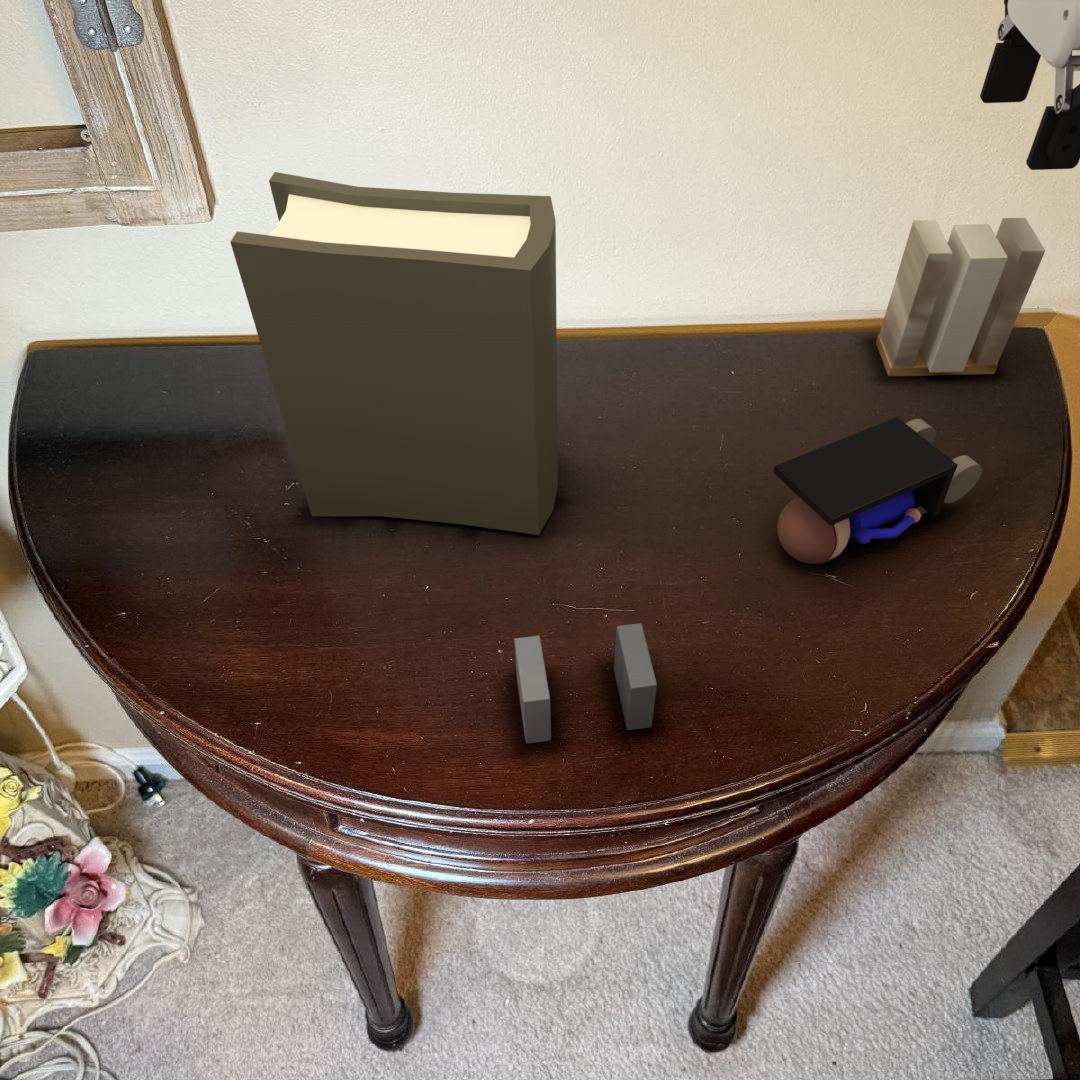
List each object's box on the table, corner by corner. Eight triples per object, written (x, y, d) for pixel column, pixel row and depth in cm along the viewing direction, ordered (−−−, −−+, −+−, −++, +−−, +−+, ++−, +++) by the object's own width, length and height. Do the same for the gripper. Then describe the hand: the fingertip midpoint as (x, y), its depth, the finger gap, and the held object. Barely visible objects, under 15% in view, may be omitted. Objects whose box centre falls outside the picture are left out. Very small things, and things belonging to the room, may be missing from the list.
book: (562, 465, 77) (561, 189, 59) (548, 540, 72) (542, 263, 54) (340, 444, 79) (274, 171, 61) (311, 516, 74) (230, 241, 56)
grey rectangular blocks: (637, 666, 64) (641, 622, 61) (651, 727, 61) (657, 684, 58) (517, 681, 64) (513, 638, 60) (525, 744, 61) (523, 702, 57)
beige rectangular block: (947, 337, 84) (989, 223, 76) (963, 372, 81) (1008, 257, 73) (915, 338, 84) (953, 224, 76) (929, 372, 81) (971, 258, 73)
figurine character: (895, 473, 77) (748, 532, 71) (930, 397, 72) (774, 454, 66) (958, 527, 73) (808, 595, 67) (1000, 451, 68) (841, 517, 62)
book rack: (977, 340, 86) (1026, 217, 77) (994, 374, 83) (1047, 250, 74) (875, 342, 86) (911, 220, 77) (887, 376, 83) (927, 253, 74)
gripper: (1276, -121, 49) (1130, 195, 62) (1133, -204, 61) (1035, 77, 73) (1125, -116, 49) (1011, 198, 62) (1011, -200, 61) (935, 80, 73)
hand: (1024, 132), depth 68 cm, fingers open, 9 cm apart
